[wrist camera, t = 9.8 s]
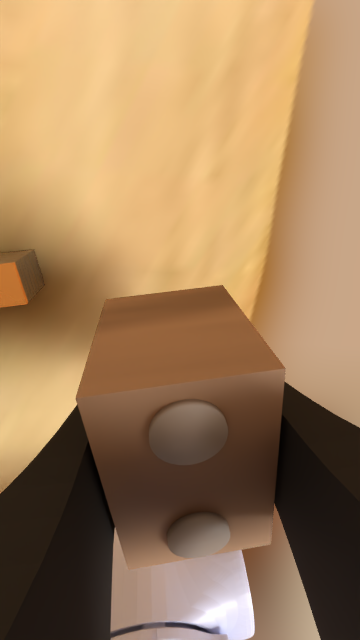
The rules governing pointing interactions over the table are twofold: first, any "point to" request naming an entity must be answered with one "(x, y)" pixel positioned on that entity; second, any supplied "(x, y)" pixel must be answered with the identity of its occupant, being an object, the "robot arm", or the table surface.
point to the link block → (183, 424)
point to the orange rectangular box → (19, 277)
